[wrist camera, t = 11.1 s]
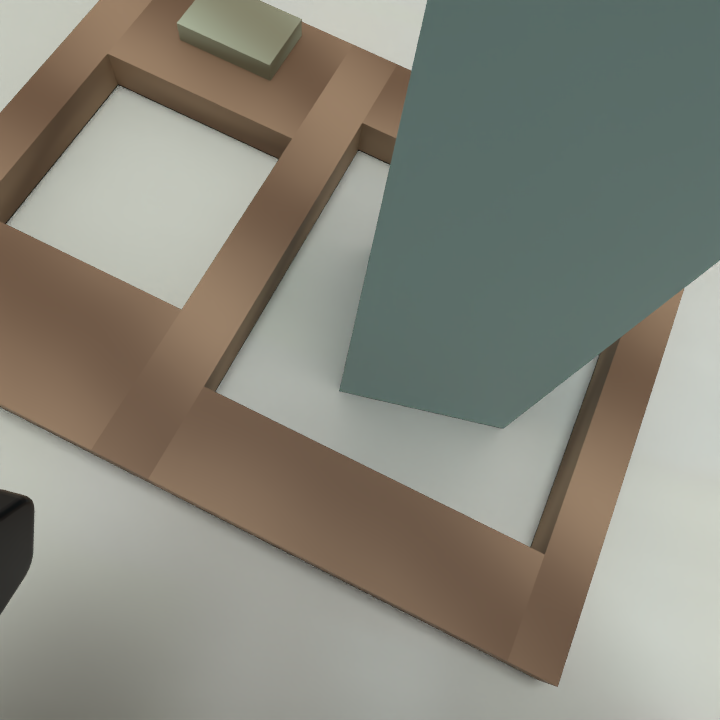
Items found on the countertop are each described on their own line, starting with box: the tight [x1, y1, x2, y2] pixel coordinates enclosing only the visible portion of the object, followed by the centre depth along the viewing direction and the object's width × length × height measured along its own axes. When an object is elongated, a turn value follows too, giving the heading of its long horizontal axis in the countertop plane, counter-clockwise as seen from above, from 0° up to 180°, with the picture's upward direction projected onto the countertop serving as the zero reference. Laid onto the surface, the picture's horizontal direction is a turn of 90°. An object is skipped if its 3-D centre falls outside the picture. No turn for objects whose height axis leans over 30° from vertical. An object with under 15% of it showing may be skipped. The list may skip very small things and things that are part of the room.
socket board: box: [0, 0, 684, 687], centre depth 17 cm, size 14×19×2 cm
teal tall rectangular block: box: [339, 0, 720, 428], centre depth 11 cm, size 4×4×15 cm
